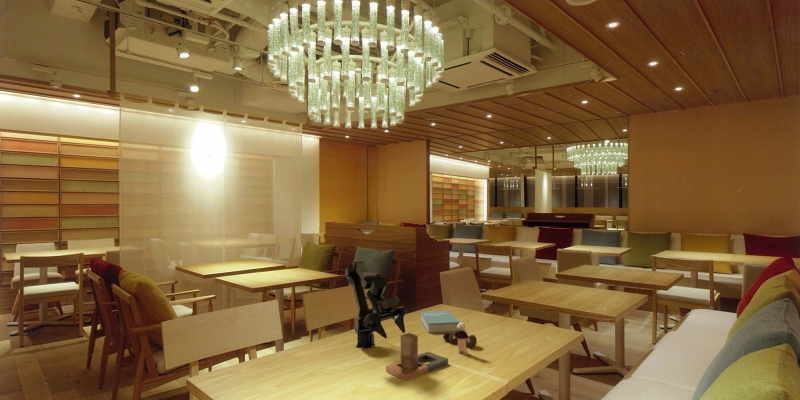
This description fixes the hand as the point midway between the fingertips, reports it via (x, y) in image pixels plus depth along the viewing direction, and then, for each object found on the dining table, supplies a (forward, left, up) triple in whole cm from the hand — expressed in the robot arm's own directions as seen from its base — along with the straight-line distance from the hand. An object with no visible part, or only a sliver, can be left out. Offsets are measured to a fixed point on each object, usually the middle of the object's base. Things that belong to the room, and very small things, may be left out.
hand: (395, 335), depth 158 cm
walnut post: (+7, -4, -11) cm, 14 cm away
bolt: (+18, +31, -12) cm, 38 cm away
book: (+2, +55, -12) cm, 57 cm away
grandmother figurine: (+21, +20, -12) cm, 31 cm away
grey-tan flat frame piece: (+9, 0, -11) cm, 14 cm away
